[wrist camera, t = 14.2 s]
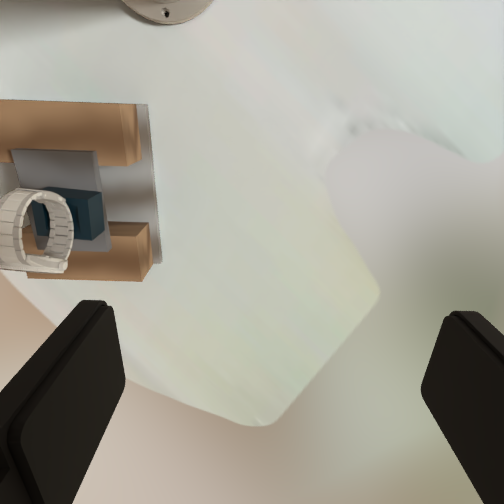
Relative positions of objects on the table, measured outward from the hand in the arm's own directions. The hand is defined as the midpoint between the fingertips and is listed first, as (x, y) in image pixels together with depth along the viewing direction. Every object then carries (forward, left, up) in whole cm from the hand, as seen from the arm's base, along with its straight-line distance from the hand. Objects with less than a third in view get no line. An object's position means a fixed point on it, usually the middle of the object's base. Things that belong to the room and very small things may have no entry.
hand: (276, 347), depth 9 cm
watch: (+5, -19, -26) cm, 33 cm away
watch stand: (+4, -21, -33) cm, 40 cm away
